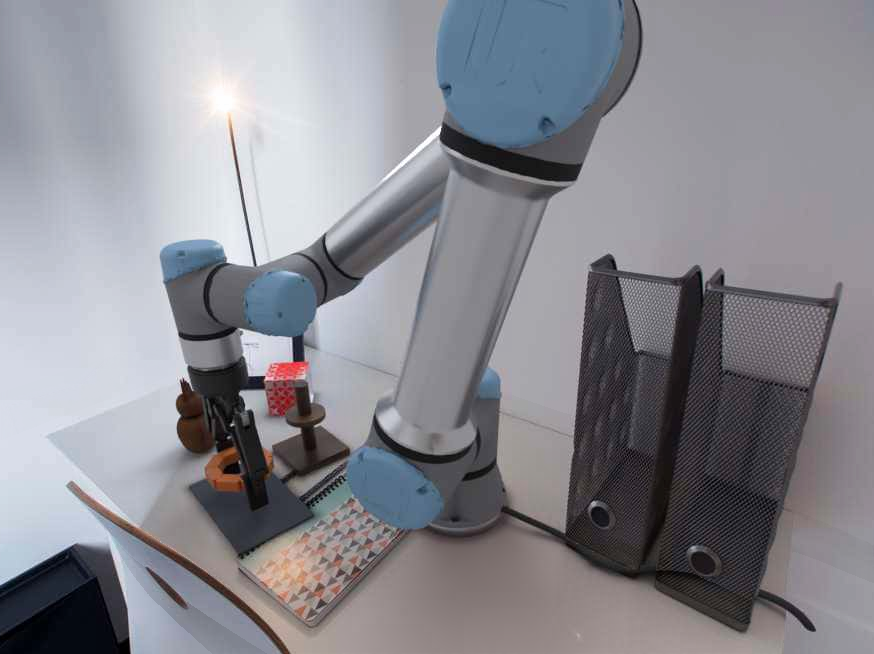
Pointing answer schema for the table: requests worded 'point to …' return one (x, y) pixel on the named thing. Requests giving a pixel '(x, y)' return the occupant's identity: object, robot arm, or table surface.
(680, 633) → the table surface
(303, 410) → the ring stand
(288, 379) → the red patterned cube
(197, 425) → the wooden figurine
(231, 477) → the ring
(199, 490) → the mat
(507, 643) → the table surface
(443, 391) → the robot arm
